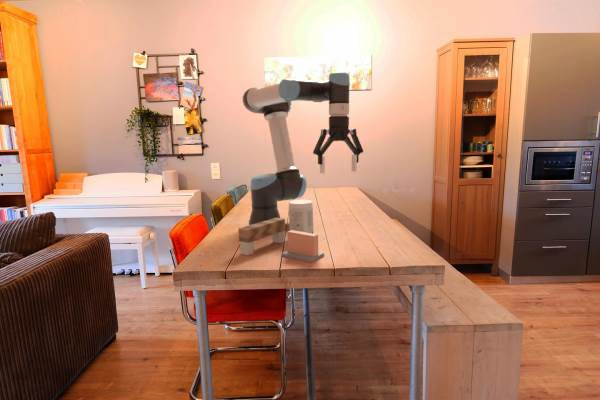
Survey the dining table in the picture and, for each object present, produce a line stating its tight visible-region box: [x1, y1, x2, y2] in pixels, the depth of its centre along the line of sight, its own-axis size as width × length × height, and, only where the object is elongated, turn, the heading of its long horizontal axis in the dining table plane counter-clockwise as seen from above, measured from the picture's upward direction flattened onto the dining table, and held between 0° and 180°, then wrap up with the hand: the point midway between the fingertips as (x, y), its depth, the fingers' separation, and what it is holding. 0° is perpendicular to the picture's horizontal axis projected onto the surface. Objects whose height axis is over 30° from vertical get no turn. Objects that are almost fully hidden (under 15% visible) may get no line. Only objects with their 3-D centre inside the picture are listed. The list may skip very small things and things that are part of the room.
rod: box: [238, 217, 286, 243], centre depth 131 cm, size 20×4×4 cm, turn 143°
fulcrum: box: [281, 230, 325, 264], centre depth 121 cm, size 12×8×8 cm, turn 53°
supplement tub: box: [288, 199, 314, 234], centre depth 143 cm, size 10×10×15 cm
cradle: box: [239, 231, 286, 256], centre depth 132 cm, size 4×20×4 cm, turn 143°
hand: (338, 172), depth 138 cm, fingers open, 13 cm apart
